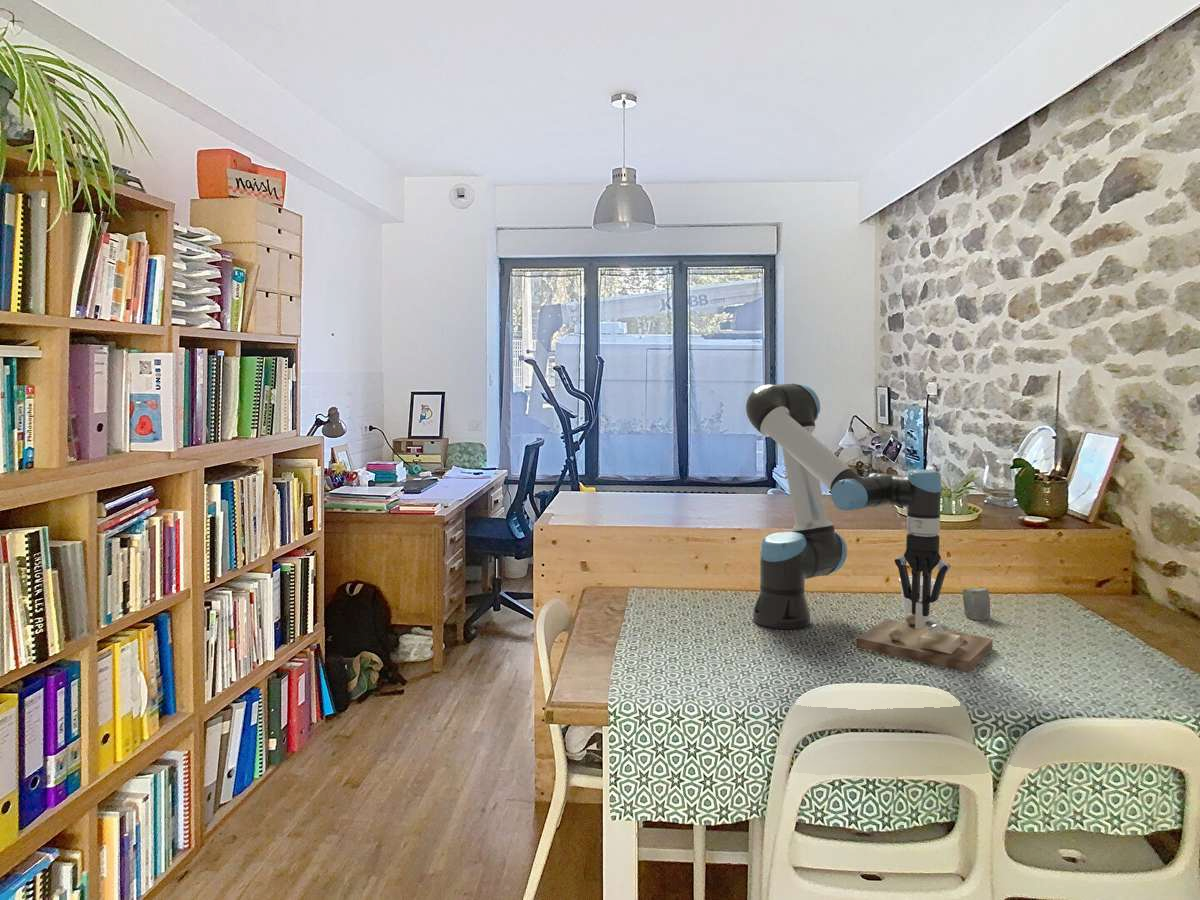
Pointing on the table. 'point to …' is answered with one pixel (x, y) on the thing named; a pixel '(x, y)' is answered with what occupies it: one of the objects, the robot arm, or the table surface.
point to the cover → (940, 641)
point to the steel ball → (936, 628)
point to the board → (909, 648)
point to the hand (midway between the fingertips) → (919, 627)
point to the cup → (908, 603)
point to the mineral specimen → (976, 603)
